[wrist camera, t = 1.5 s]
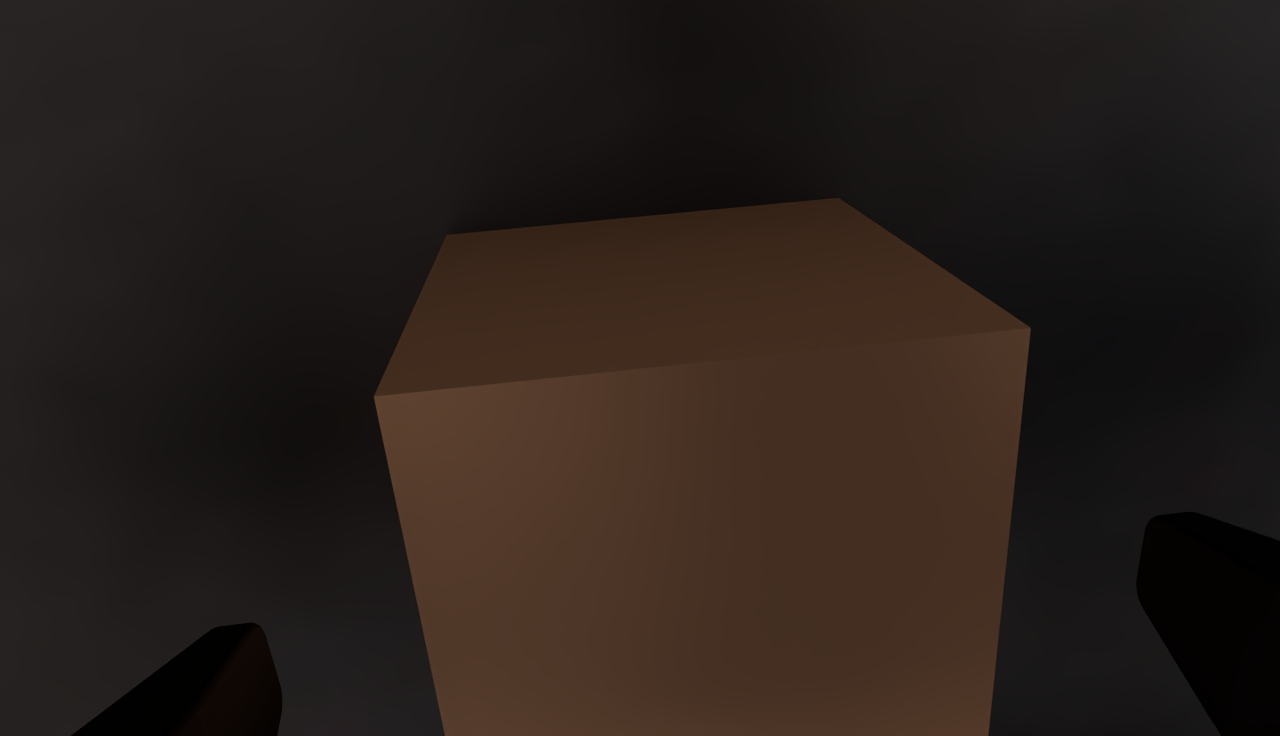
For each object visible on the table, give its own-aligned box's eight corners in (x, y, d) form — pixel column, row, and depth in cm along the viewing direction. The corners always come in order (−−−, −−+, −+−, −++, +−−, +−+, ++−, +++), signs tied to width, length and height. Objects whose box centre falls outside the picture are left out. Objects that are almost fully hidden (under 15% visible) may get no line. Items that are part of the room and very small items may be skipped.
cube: (837, 196, 13) (1030, 327, 7) (832, 525, 15) (981, 802, 10) (447, 233, 12) (373, 396, 7) (500, 564, 14) (473, 869, 9)
